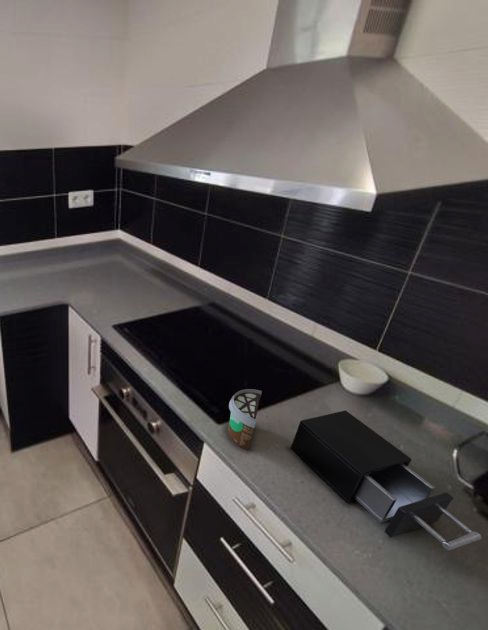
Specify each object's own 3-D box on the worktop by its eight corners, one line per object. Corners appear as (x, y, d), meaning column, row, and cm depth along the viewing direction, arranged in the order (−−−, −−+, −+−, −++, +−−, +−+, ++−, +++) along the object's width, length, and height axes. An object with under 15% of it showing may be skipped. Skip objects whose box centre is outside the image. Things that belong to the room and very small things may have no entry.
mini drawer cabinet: (394, 488, 78) (412, 459, 74) (346, 503, 75) (361, 473, 71) (333, 437, 91) (345, 410, 87) (290, 448, 88) (300, 420, 84)
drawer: (475, 553, 66) (496, 529, 62) (426, 572, 63) (445, 547, 60) (368, 465, 82) (380, 442, 79) (326, 477, 80) (337, 453, 77)
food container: (227, 413, 99) (235, 382, 94) (253, 421, 96) (262, 389, 91) (218, 444, 89) (226, 411, 84) (246, 454, 86) (256, 421, 82)
